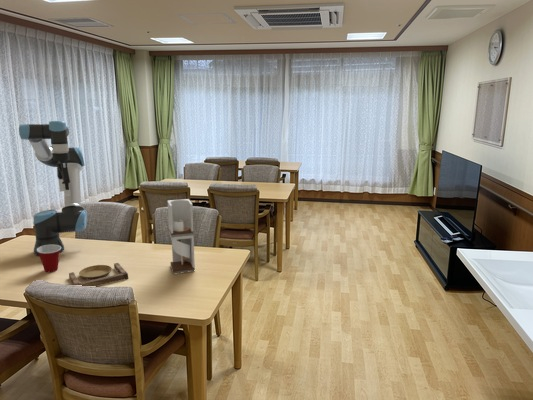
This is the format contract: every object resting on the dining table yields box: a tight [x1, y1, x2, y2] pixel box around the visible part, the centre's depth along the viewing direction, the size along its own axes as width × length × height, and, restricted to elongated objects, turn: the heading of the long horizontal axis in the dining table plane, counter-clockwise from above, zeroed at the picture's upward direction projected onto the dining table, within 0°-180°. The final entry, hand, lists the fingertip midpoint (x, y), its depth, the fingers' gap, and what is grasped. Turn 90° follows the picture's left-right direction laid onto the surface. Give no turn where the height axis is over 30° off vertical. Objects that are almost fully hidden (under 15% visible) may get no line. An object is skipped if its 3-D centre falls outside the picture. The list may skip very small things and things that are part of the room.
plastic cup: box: [36, 245, 61, 273], centre depth 196 cm, size 11×11×12 cm
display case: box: [166, 198, 196, 275], centre depth 197 cm, size 11×11×35 cm
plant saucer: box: [78, 264, 112, 281], centre depth 192 cm, size 15×15×3 cm
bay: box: [68, 262, 129, 287], centre depth 188 cm, size 16×23×2 cm
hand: (65, 193), depth 201 cm, fingers open, 13 cm apart
